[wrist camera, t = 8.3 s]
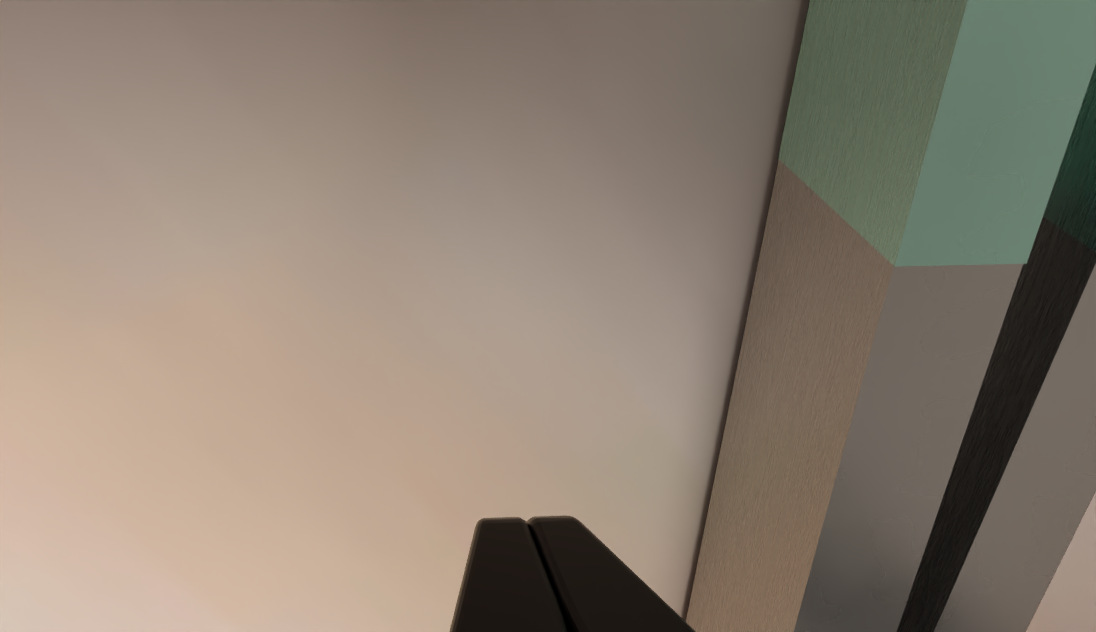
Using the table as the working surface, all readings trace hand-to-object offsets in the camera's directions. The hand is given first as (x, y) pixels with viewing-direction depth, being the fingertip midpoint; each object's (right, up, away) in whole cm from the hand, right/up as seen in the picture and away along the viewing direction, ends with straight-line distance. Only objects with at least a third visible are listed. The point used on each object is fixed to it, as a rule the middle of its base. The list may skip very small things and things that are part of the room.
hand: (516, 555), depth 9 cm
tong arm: (+5, +1, +11) cm, 12 cm away
